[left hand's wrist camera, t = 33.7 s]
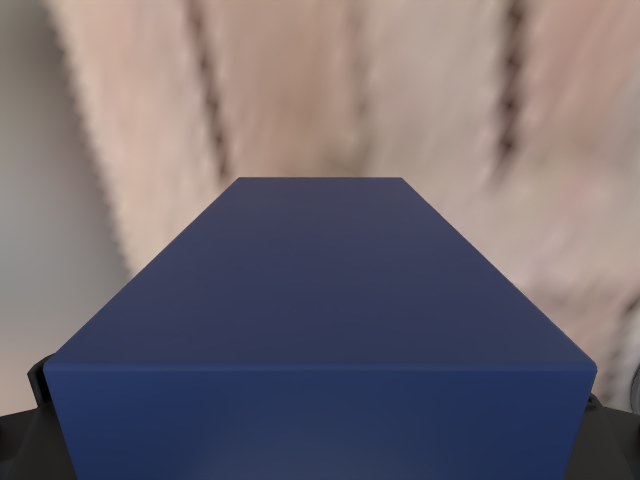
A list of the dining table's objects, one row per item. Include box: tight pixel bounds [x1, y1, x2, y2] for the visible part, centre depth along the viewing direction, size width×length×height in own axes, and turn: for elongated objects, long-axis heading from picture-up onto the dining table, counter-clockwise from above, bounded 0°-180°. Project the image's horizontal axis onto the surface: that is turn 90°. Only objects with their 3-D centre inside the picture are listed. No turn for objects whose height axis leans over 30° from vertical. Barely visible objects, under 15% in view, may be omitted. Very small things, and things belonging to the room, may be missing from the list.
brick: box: [43, 177, 597, 480], centre depth 11 cm, size 7×7×12 cm
